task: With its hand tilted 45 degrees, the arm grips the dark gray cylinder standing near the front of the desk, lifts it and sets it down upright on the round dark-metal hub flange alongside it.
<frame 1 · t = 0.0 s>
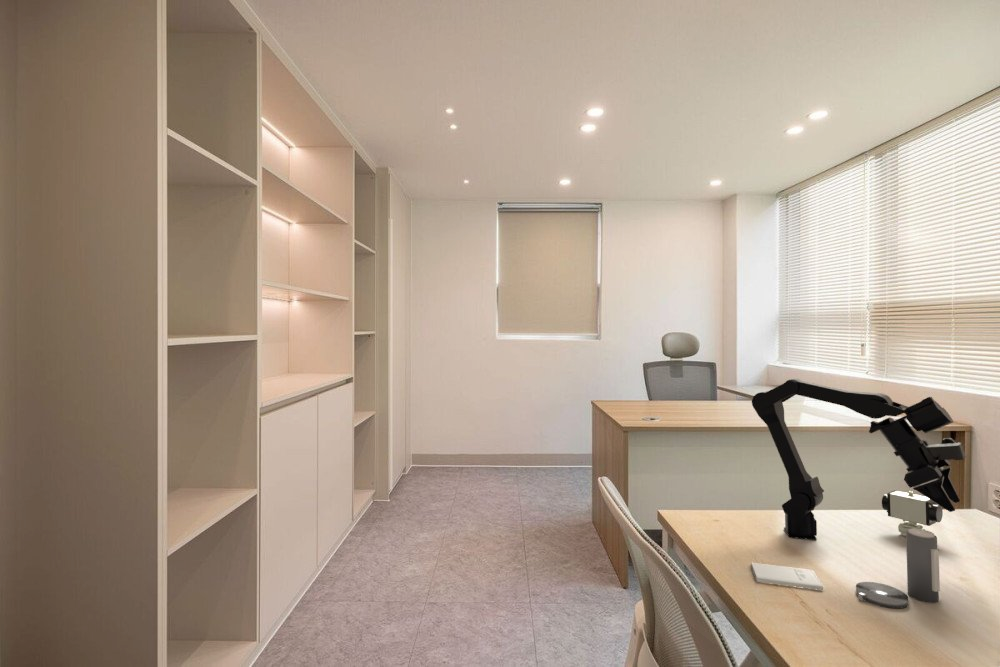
hand: (955, 506, 110), 15 cm above the table, tool tilted 35°, fingers open, 9 cm apart
pneumatic valve: (912, 537, 131), on the table
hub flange: (881, 597, 100), on the table
external hard drive: (785, 581, 108), on the table
dark gray cylinder: (923, 597, 100), on the table
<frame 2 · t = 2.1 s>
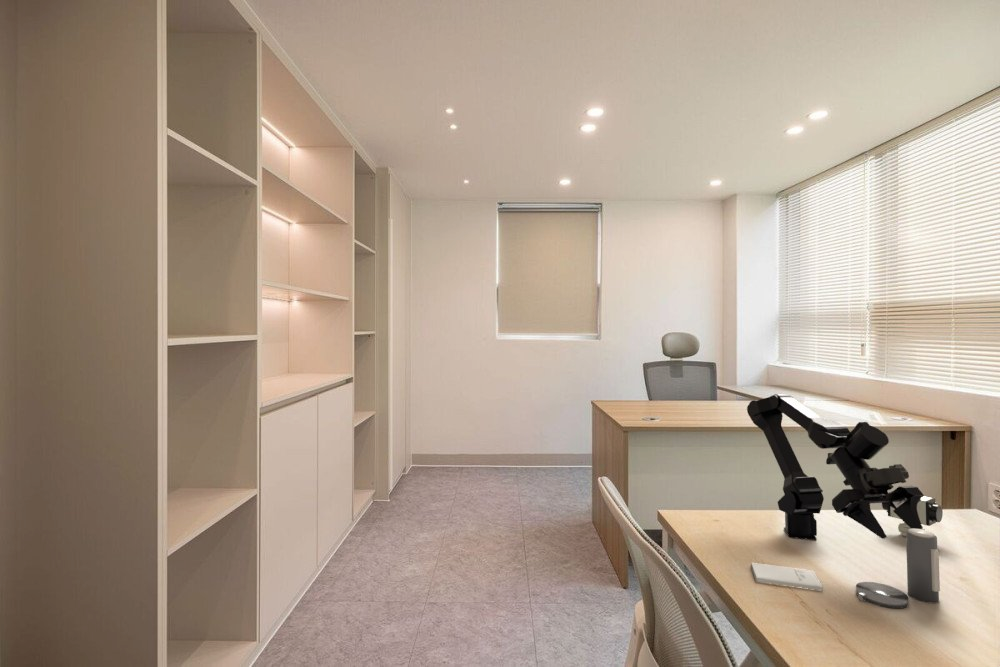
hand: (903, 536, 104), 11 cm above the table, tool tilted 45°, fingers open, 9 cm apart
nothing on the table moved.
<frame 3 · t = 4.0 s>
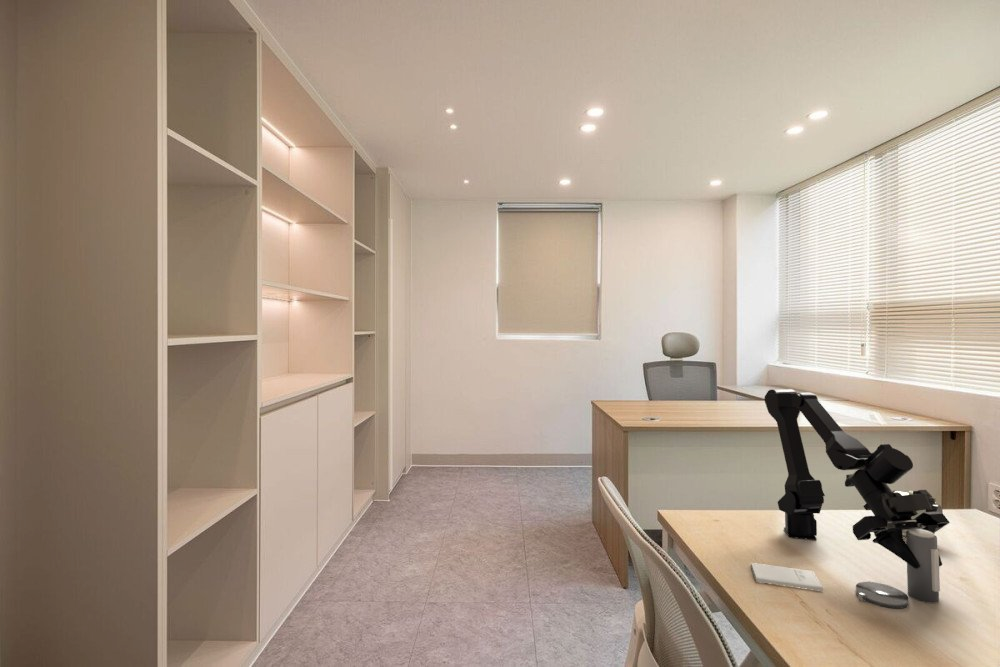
hand: (929, 567, 99), 7 cm above the table, tool tilted 45°, fingers closed on dark gray cylinder, 5 cm apart
dark gray cylinder: (923, 596, 100), on the table, touching gripper
everything else where it was.
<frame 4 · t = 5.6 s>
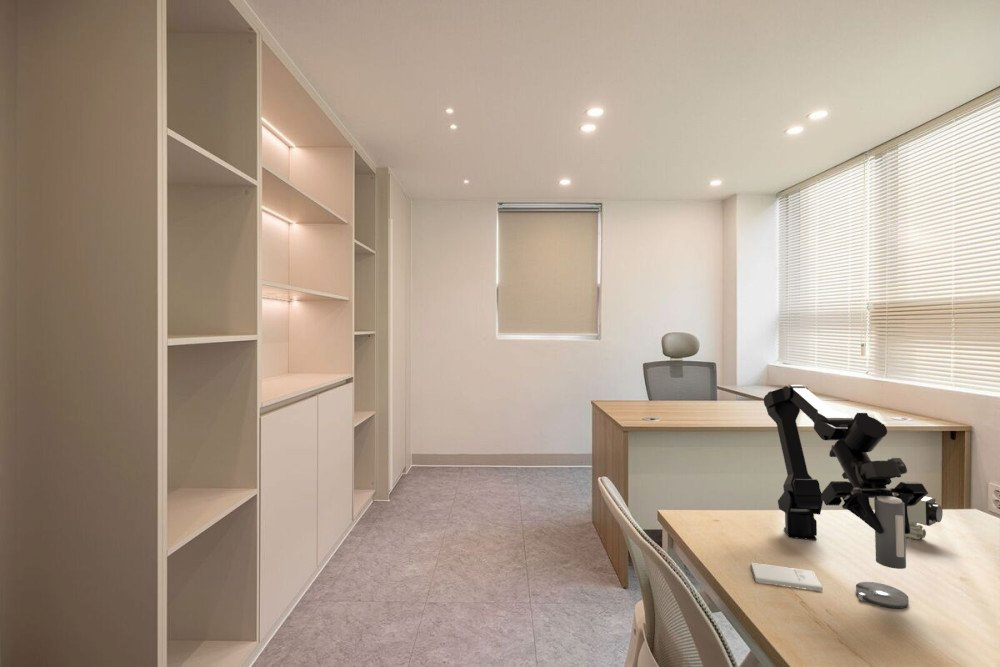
hand: (894, 533, 99), 13 cm above the table, tool tilted 45°, fingers closed on dark gray cylinder, 5 cm apart
dark gray cylinder: (890, 563, 100), point 7 cm above the table, touching gripper
everything else where it was.
when the fingers open (9 cm above the table, at t = 7.2 s): dark gray cylinder stays where it is, resting on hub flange.
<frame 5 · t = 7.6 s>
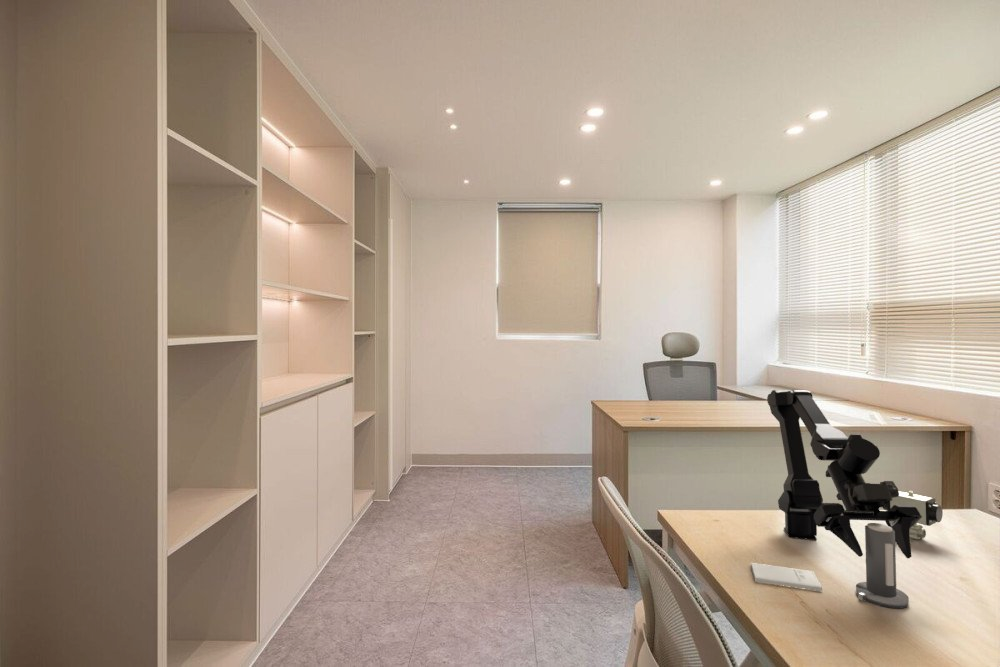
hand: (885, 556, 99), 9 cm above the table, tool tilted 45°, fingers open, 9 cm apart
dark gray cylinder: (881, 591, 100), point 1 cm above the table, touching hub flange
everything else where it was.
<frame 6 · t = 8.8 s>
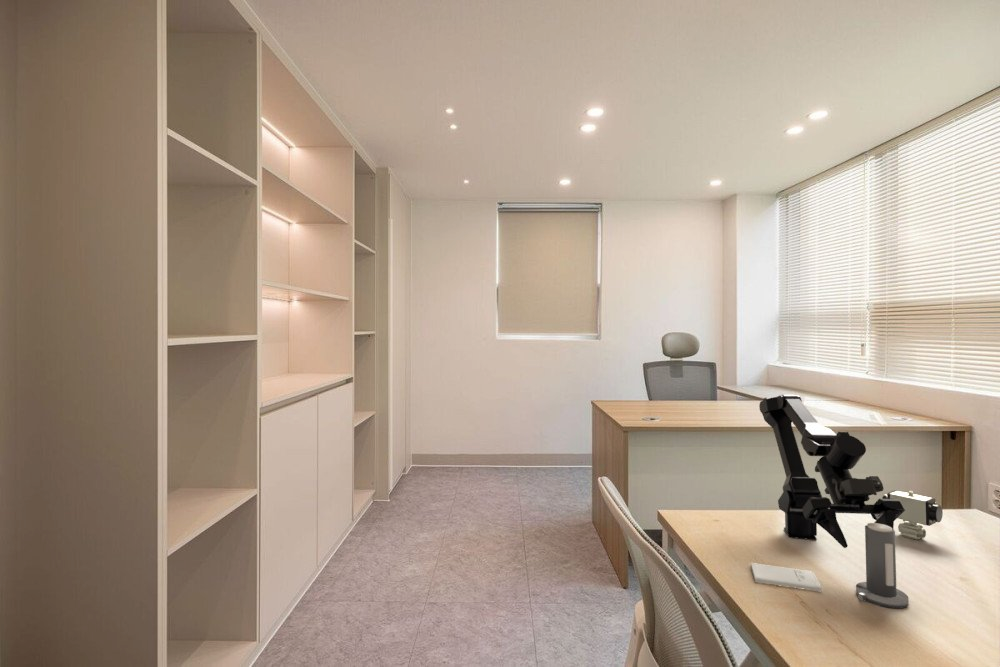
hand: (869, 548, 103), 8 cm above the table, tool tilted 45°, fingers open, 9 cm apart
nothing on the table moved.
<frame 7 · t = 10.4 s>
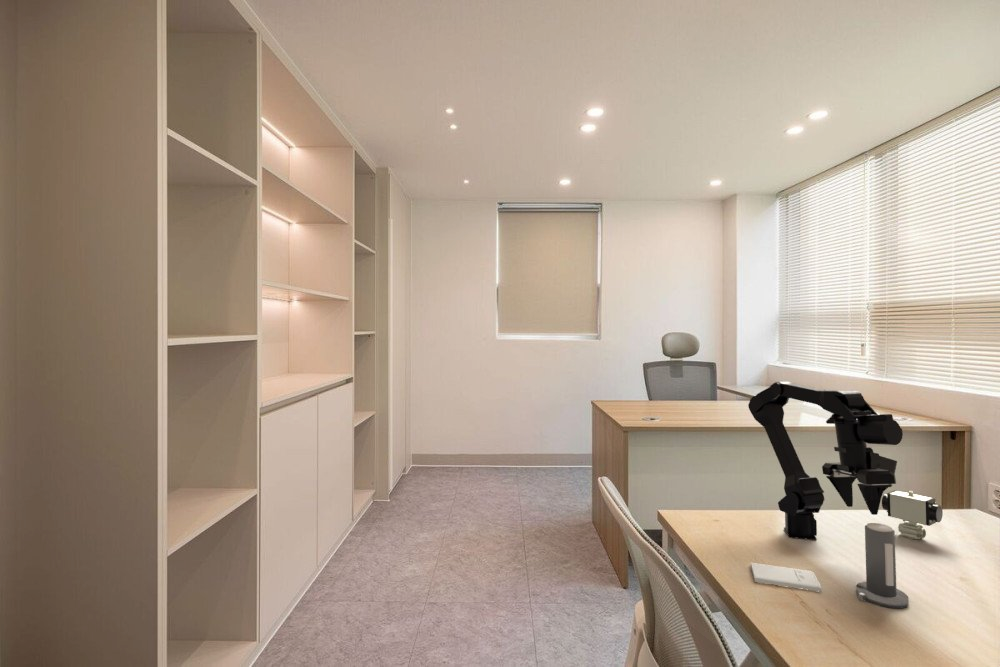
hand: (861, 510, 116), 12 cm above the table, tool pointing down, fingers open, 9 cm apart
nothing on the table moved.
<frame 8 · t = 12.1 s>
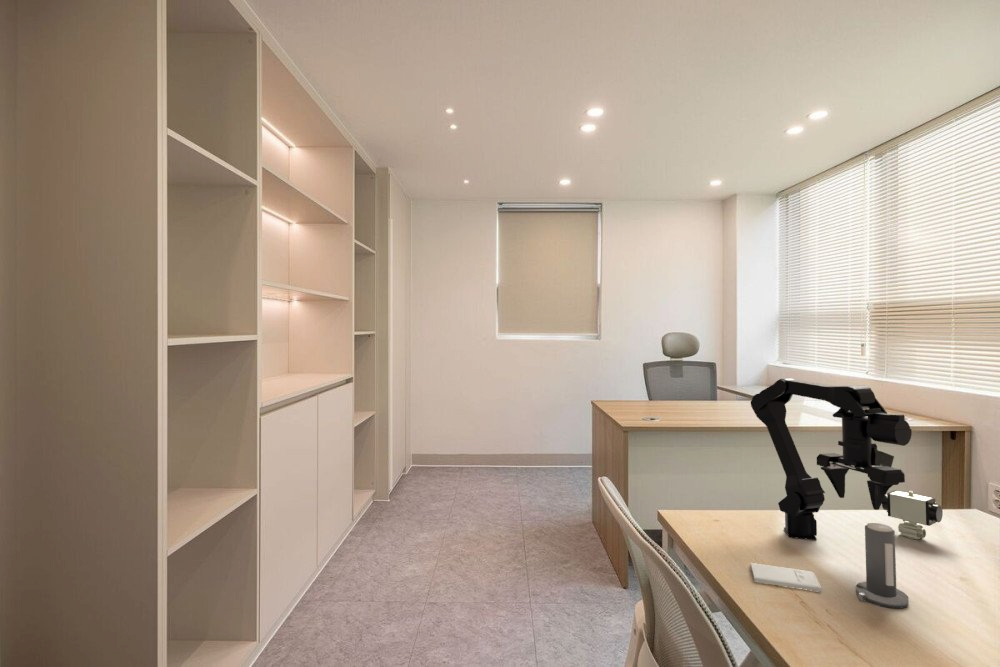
hand: (858, 503, 119), 13 cm above the table, tool pointing down, fingers open, 9 cm apart
nothing on the table moved.
at the end: dark gray cylinder 0.1 cm from the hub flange (horizontally); dark gray cylinder point 1.2 cm above the table; dark gray cylinder tilted 0° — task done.
